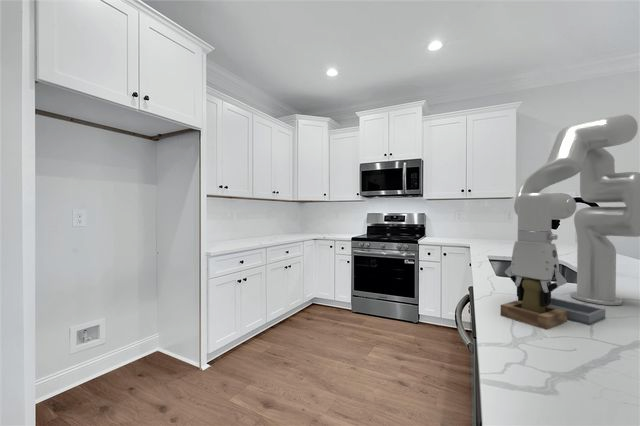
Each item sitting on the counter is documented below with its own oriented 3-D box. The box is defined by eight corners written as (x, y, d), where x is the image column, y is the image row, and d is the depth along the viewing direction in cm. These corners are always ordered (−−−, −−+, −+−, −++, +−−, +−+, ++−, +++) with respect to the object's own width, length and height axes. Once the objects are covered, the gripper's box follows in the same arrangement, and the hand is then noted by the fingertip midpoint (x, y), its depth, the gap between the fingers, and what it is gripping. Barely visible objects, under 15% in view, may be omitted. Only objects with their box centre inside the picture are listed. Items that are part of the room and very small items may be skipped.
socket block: (521, 309, 87) (521, 299, 87) (567, 321, 78) (567, 310, 78) (500, 315, 82) (500, 304, 82) (546, 329, 72) (546, 317, 72)
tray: (550, 305, 92) (550, 297, 92) (605, 318, 80) (605, 309, 80) (533, 310, 87) (533, 302, 87) (589, 325, 75) (589, 315, 75)
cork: (551, 323, 76) (552, 282, 76) (526, 321, 78) (526, 280, 77) (539, 315, 82) (539, 277, 82) (515, 313, 83) (516, 275, 83)
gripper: (578, 239, 74) (578, 310, 74) (508, 234, 89) (508, 293, 89) (565, 240, 71) (564, 315, 71) (494, 235, 85) (494, 297, 85)
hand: (533, 302), depth 80 cm, fingers closed on cork, 4 cm apart
